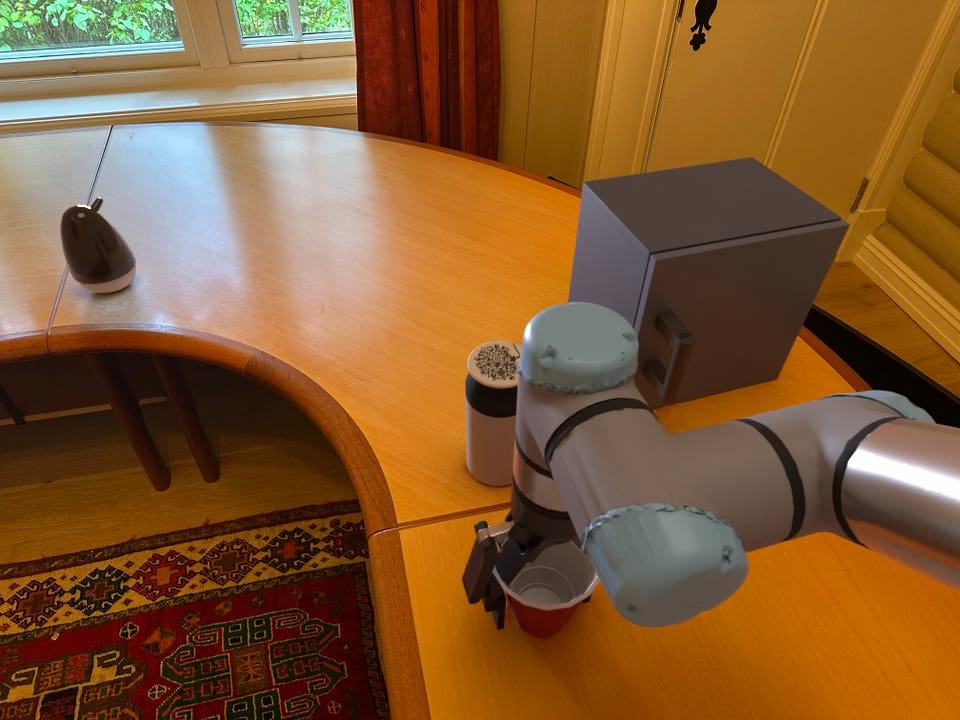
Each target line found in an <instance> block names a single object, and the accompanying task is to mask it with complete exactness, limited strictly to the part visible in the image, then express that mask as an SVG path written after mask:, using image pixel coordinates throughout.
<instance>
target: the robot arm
mask: <svg viewBox="0 0 960 720" xmlns="http://www.w3.org/2000/svg"><path fill="white" fill-rule="evenodd" d="M522 335H523V336H522V341H521V346H522V348H521V354H520V359H519V361H518V363H517V373H518V392H517V412H516V429H515V432H516V433H515V444H514V460H513V473H512V483H511V488H510V489H511V490H510V510H509V512H508V513H507V514H506V516H505V518H504V521H503V522H501V523H498V524H495V525H489V523H488V521H486V520H479V521H477V522H476V523H475V524H474V526H473V528H474V532H475V536H476V537H475V540H474V542H473V545H472V548H471V551H470V554H469V556H468V559H467V562H466V565H465V568H464V571H463V572H462V573H463V574H462V577H461V582H462V586H463V588H464V592H465V594H466V599H467V603H468V604H469V605H475V604H478V603H480V602H481V603H482V607H483V609H484V612H485V613H487V614H488V613H491V615H492V618H493V622H494V624H495V625H494V626H495V628H496V631H501V630H505V625H506V614H507V613H506V612H507V596H506V593H505V591H504V589H503V588H502V586H501V585H500V583H499V582H498V580H497V578H496V577H495V575H494V574H493V572H492V571H493V569H494V566H495V567H496V571H497V573H498V574H499V576H500V578H501V580H502V581H504V582H505V584H506V585H507V587H508V586H509V584H510V583H511V582H512V581H513V579H514V578H515V577H516V576H517V575H518V573H519V572H520V571H521V570H522V568H523V567H524V566H525V565H526V563H533V562H534V561H535V560H536V559H537V557H538V556H539V555H540V554H541V552H542V551H543V550H544V549H546V548H549V547H551V546H553V545H558V544H564V543H567V542H570V540H571V541H573V542H574V543H575V544H576V545H577V547H578V548H579V549H580V548H581V549H582V551H583V553H584V554H585V555H586V557H587V560H588V561H589V562H590V563H591V564H592V566H593V568H594V570H595V571H596V573H597V575H598V577H599V579H600V581H599V582H601V585H602V587H603V589H604V590H605V592H606V594H607V596H608V597H609V599H610V601H611V603H612V605H613V607H614V609H615V610H616V612H617V613H618V614H619V615H620V616H621V617H622V618H623V619H625V620H626V621H627V622H629V623H631V624H633V625H636V626H639V627H644V628H663V627H665V628H666V627H670V626H674V625H678V624H682V623H684V622H687V621H690V620H692V619H694V618H695V617H697V616H698V615H700V614H701V613H703V612H707V611H712V610H713V609H715V608H716V607H719V606H720V605H722V604H723V603H724V602H726V601H728V600H729V599H730V598H732V596H733V595H735V594H736V593H737V591H738V590H739V589H740V588H741V587H742V585H743V584H744V583H745V582H746V580H747V577H748V574H749V570H750V562H749V558H748V555H747V554H748V553H751V552H754V551H758V550H761V549H764V548H769V547H772V546H775V545H776V546H777V545H778V544H781V543H784V542H789V541H792V540H793V541H794V540H796V539H800V538H803V537H807V536H811V535H814V534H818V533H829V534H834V535H836V536H838V537H839V538H842V539H845V540H846V541H848V542H851V543H853V544H855V545H858V546H861V547H863V548H865V549H867V550H869V551H872V552H873V553H875V554H878V555H880V556H882V557H885V558H887V559H889V560H890V561H893V562H895V563H898V564H899V565H901V566H903V567H905V568H908V569H910V570H912V571H914V572H917V573H919V574H921V575H922V576H923V575H924V576H925V577H926V578H927V577H928V578H930V579H932V580H934V581H936V582H938V583H940V584H943V585H944V586H947V587H949V588H951V589H953V590H956V591H957V592H960V428H959V427H955V426H950V425H944V424H940V423H936V421H935V420H934V419H933V417H932V416H931V415H930V414H929V413H928V412H927V411H926V409H923V408H921V407H919V406H917V405H915V404H914V403H913V402H911V401H910V400H909V399H908V397H906V396H904V395H901V394H900V393H896V392H893V391H888V390H882V389H881V390H880V389H878V390H877V389H875V390H874V389H873V390H865V391H859V392H852V393H851V392H849V393H846V392H841V393H833V394H829V395H826V396H824V397H819V398H817V399H815V400H811V401H807V402H803V403H800V404H794V405H791V406H787V407H781V408H778V409H774V410H770V411H765V412H762V413H758V414H754V415H749V416H746V417H742V418H737V419H733V420H728V421H725V422H721V423H716V424H712V425H708V426H707V425H706V426H703V427H698V428H694V429H689V430H685V431H681V432H677V433H669V431H667V429H666V428H665V427H664V426H663V425H662V423H660V421H659V419H658V417H657V415H656V414H655V413H654V411H653V409H650V407H649V406H648V404H647V403H646V401H645V400H644V398H643V397H642V395H641V394H640V392H639V391H638V389H637V388H636V386H635V383H634V379H633V376H634V374H635V373H636V371H637V366H638V361H637V358H638V339H637V334H636V332H635V330H634V329H633V327H632V326H631V324H630V323H629V322H628V321H627V320H626V319H625V318H624V317H623V316H621V315H620V314H618V313H617V312H615V311H613V310H611V309H609V308H606V307H604V306H601V305H597V304H593V303H586V302H570V303H568V302H567V303H565V304H562V303H561V304H554V305H551V306H549V307H546V308H544V309H542V310H541V311H539V312H538V313H536V314H535V315H534V316H533V317H532V318H531V319H530V321H528V323H527V324H526V327H525V328H524V331H523V334H522ZM507 537H508V539H507V541H506V542H505V543H504V545H503V546H502V547H501V545H502V544H503V541H504V540H505V539H506V538H507ZM592 595H593V592H592V593H591V594H590V596H589V597H587V598H585V599H584V600H583V601H582V602H581V604H583V605H584V604H588V603H590V602H591V598H592Z"/></svg>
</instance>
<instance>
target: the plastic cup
mask: <svg viewBox="0 0 960 720" xmlns="http://www.w3.org/2000/svg"><path fill="white" fill-rule="evenodd" d="M507 539H508V537H507V538H506V539H505V540H504V541H503V544H502V545H501V547H502V546H503V545H504V543H505V542H506V541H507ZM492 572H493V574H494V575H495V577H496V578H497V580H498V582H499V583H500V585H501V586H502V588H503V589H504V593H505V596H506V600H507V602H508V606H509V608H510V610H511V614H512V616H513V619H514V621H515V622H516V624H517V626H518V628H520V630H521V631H523V632H524V633H525V634H526V635H528V636H530V637H533V638H537V639H545V638H546V639H548V638H551V637H553V636H554V635H556V634H558V633H560V632H561V631H562V630H563V629H564V627H565V626H566V625H567V624H568V622H569V621H570V620H571V618H572V617H573V616H574V614H575V613H576V611H577V609H578V608H579V607H580V605H581V604H582V601H583V600H584V599H585V598H587V597H589V596H590V594H591V593H592V594H593V591H594V590H595V588H596V587H597V586H598V584H599V583H600V582H601V581H600V579H599V577H598V575H597V573H596V571H595V570H594V568H593V566H592V564H591V563H590V562H589V561H588V560H587V557H586V555H585V554H584V553H583V551H582V549H581V548H580V549H579V548H578V547H577V545H576V544H575V543H574V542H573V541H571V540H570V542H567V543H564V544H558V545H553V546H551V547H549V548H546V549H544V550H543V551H542V552H541V554H540V555H539V556H538V557H537V559H536V560H535V561H534V562H533V563H526V565H525V566H524V567H523V568H522V570H521V571H520V572H519V573H518V575H517V576H516V577H515V578H514V579H513V581H512V582H511V583H510V584H509V586H508V587H507V585H506V584H505V582H504V581H502V580H501V578H500V576H499V574H498V573H497V571H496V567H495V566H494V569H493V571H492ZM592 594H591V595H592Z"/></svg>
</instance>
